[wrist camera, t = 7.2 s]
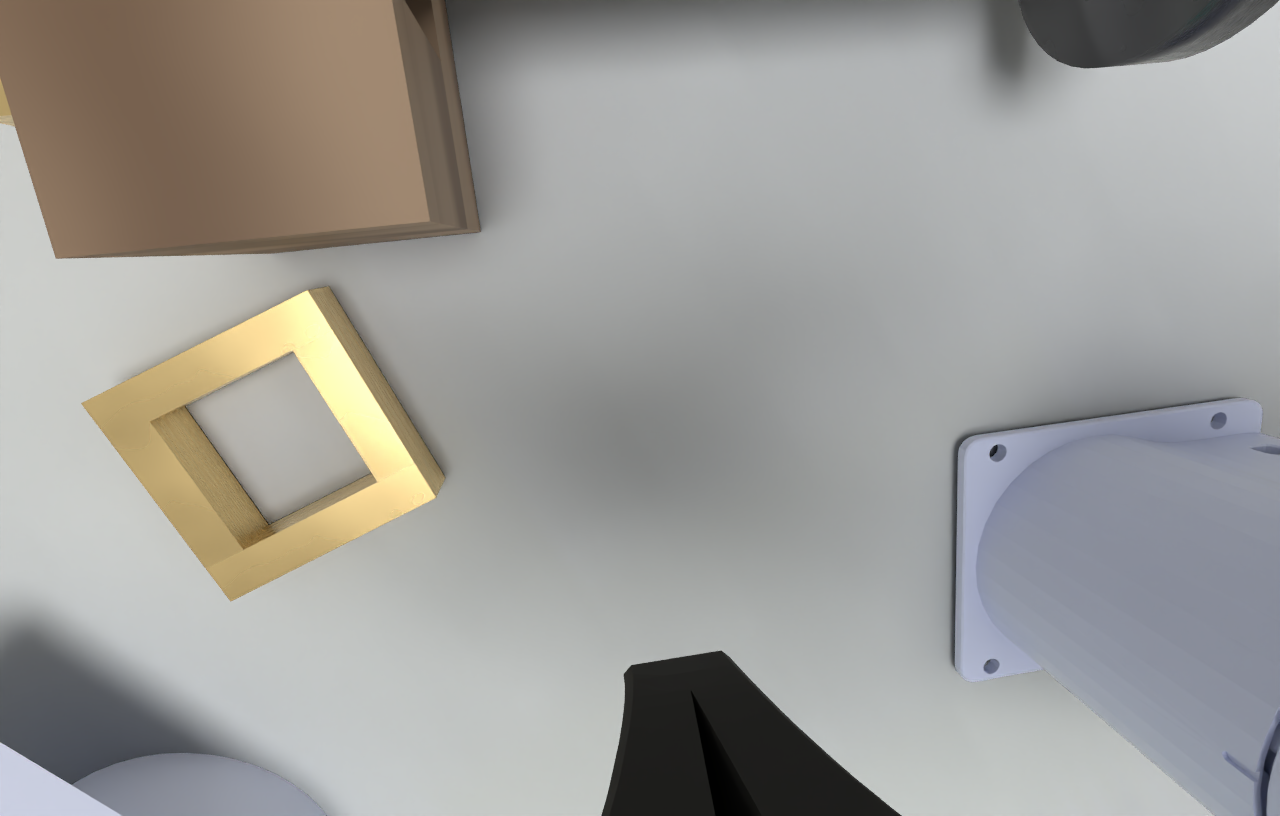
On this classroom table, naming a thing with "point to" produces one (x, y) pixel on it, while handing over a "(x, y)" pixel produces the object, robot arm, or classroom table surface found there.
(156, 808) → the wedge on round base
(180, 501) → the frame
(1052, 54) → the shaft
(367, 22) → the bearing block
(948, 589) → the classroom table surface
